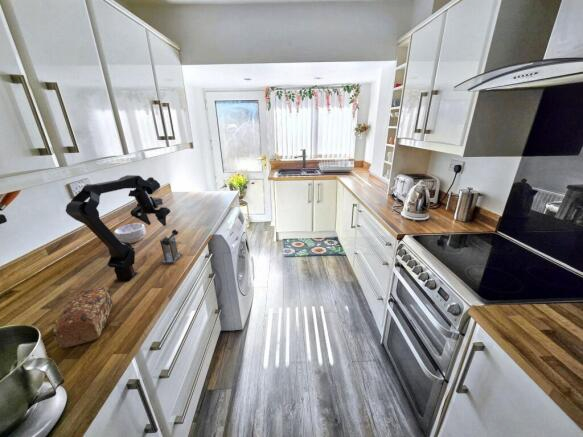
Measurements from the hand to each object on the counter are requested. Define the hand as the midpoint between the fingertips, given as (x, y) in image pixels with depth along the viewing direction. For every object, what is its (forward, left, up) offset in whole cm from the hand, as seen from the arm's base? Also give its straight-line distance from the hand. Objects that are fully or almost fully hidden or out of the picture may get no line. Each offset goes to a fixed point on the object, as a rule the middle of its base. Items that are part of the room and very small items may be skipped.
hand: (157, 225), depth 123 cm
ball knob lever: (-4, -9, -6) cm, 12 cm away
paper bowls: (+14, +27, -16) cm, 34 cm away
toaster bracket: (-9, -9, -15) cm, 20 cm away
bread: (-51, -1, -16) cm, 53 cm away
